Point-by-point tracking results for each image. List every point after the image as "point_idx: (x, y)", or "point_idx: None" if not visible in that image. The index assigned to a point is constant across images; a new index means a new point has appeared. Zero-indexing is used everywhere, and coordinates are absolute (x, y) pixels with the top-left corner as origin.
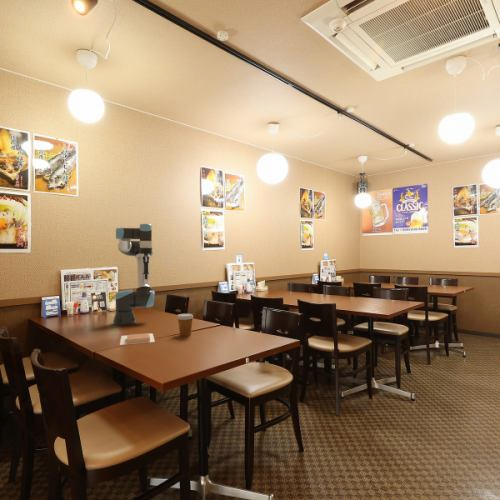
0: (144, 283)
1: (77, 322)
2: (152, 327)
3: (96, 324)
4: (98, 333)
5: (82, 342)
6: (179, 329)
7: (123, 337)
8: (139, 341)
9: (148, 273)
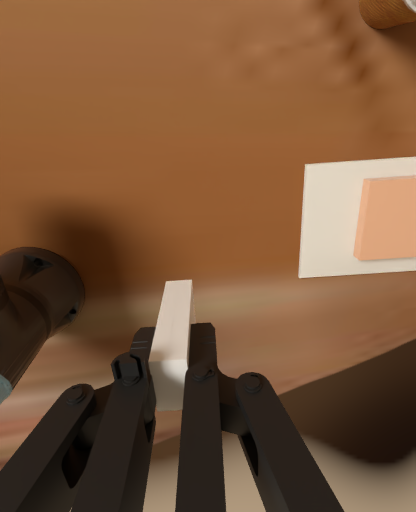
0: (195, 318)
1: (3, 428)
2: (155, 167)
3: (48, 374)
4: None
5: (324, 366)
6: (398, 24)
7: (329, 268)
8: None
9: (144, 362)
